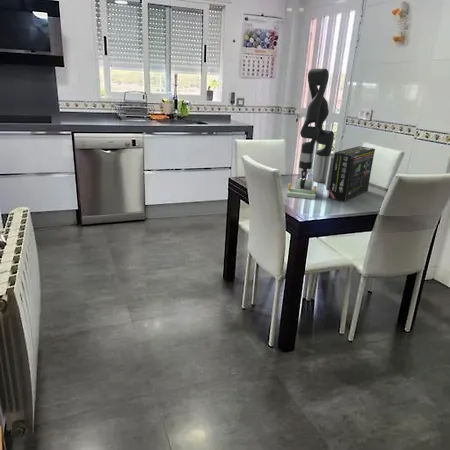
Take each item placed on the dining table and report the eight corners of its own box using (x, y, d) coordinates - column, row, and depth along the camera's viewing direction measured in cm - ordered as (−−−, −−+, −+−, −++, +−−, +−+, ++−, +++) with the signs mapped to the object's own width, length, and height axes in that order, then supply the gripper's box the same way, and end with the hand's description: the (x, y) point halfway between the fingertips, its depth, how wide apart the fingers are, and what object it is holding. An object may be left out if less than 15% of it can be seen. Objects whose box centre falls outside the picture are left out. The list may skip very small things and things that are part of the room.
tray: (288, 191, 238) (289, 181, 236) (315, 194, 235) (317, 184, 233) (286, 195, 228) (287, 185, 226) (315, 199, 225) (316, 188, 223)
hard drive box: (338, 190, 245) (343, 158, 238) (326, 189, 247) (330, 157, 240) (337, 184, 260) (342, 154, 253) (325, 183, 261) (329, 153, 254)
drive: (294, 187, 247) (295, 178, 245) (310, 189, 246) (311, 179, 244) (294, 190, 242) (295, 180, 240) (311, 191, 241) (312, 181, 239)
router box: (351, 187, 255) (358, 145, 246) (368, 191, 249) (376, 148, 240) (326, 198, 229) (333, 151, 220) (344, 202, 223) (352, 154, 213)
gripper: (300, 157, 245) (297, 183, 251) (298, 161, 232) (295, 188, 238) (312, 159, 243) (309, 184, 249) (311, 163, 230) (308, 190, 236)
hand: (302, 186), depth 243 cm, fingers open, 8 cm apart
